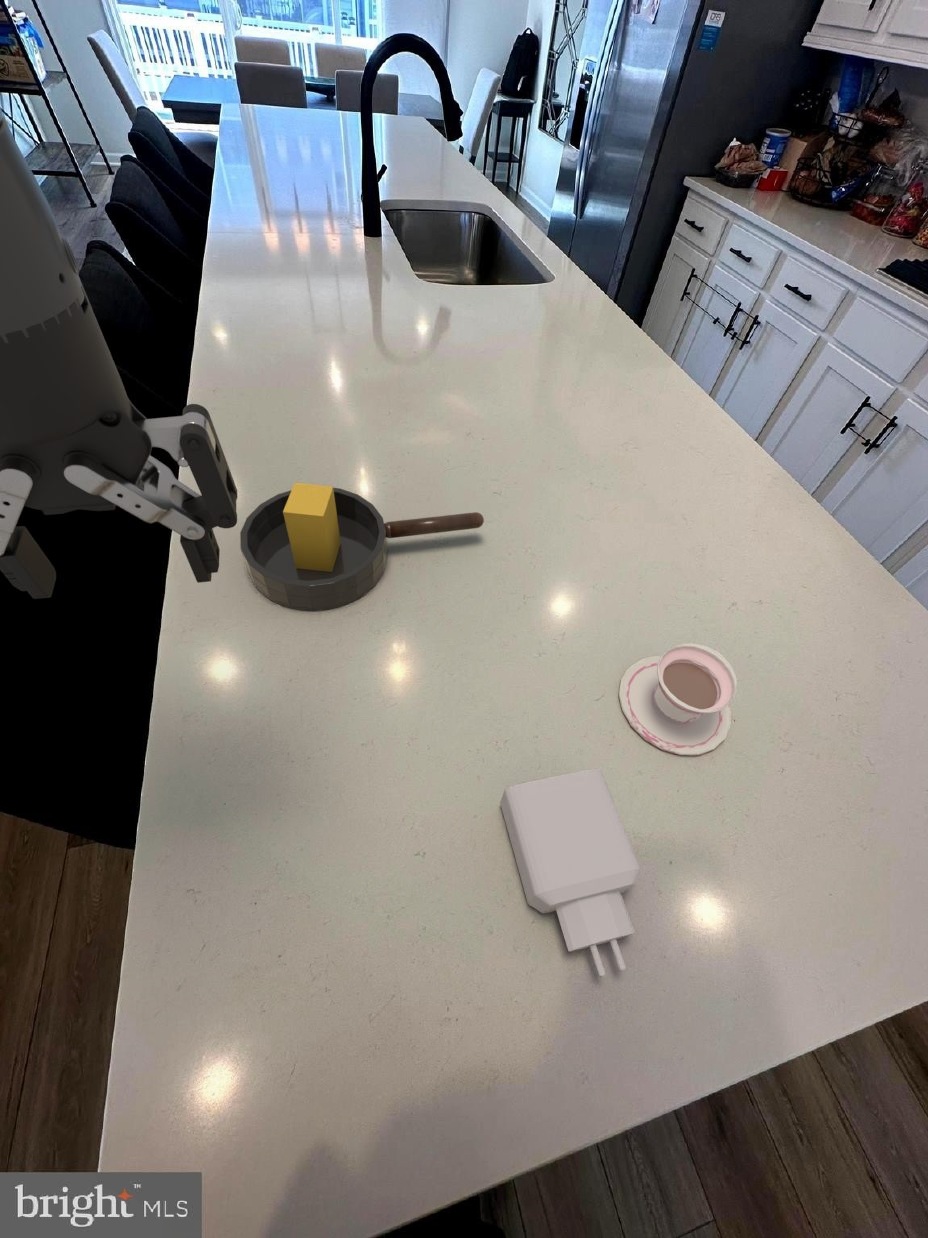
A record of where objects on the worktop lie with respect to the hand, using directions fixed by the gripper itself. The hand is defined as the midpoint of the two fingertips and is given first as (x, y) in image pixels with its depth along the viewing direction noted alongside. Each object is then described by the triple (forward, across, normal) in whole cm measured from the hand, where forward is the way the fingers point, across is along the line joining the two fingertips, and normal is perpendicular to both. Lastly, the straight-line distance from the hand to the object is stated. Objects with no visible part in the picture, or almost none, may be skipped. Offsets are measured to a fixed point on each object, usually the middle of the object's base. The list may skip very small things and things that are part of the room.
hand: (129, 579), depth 33 cm
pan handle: (+23, +25, +25) cm, 41 cm away
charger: (+25, +29, -17) cm, 42 cm away
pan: (+25, +10, +24) cm, 37 cm away
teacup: (+25, +46, -3) cm, 52 cm away
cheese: (+25, +10, +24) cm, 36 cm away
